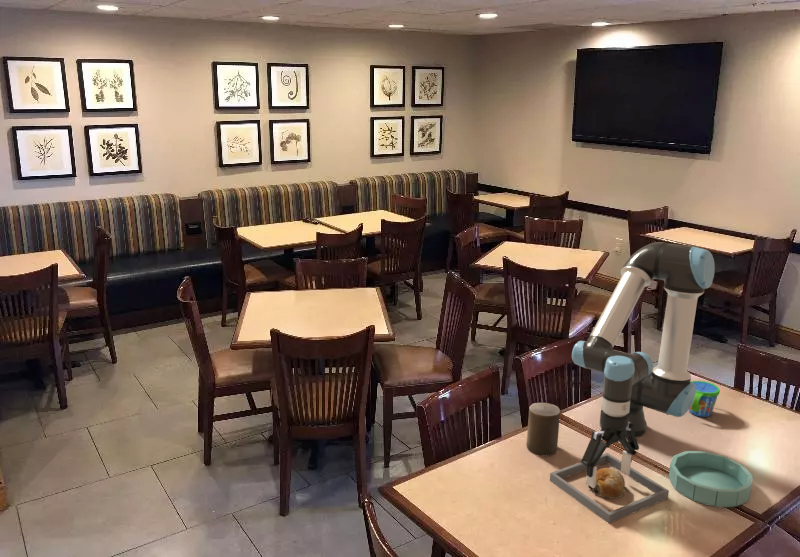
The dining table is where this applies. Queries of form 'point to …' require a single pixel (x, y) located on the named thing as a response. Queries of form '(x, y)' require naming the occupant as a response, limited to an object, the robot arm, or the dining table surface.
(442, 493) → the dining table surface
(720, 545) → the dining table surface
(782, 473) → the dining table surface
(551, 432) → the pillar candle
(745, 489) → the bowl
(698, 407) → the snack cup
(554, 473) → the rectangular frame
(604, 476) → the bread roll
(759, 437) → the dining table surface
